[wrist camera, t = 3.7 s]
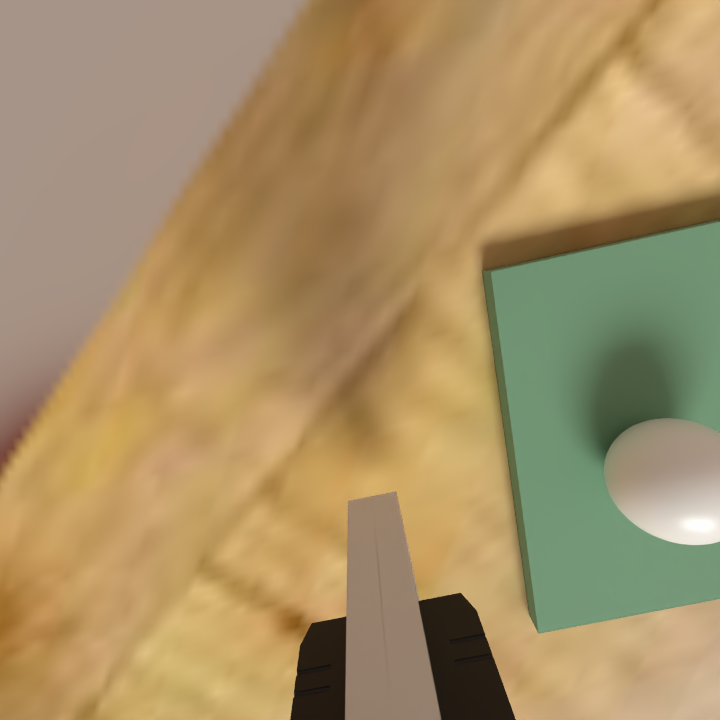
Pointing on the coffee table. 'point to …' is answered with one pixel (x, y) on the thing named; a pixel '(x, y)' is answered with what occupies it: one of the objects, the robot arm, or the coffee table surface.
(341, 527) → the coffee table surface
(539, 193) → the coffee table surface
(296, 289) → the coffee table surface
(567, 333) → the green mat
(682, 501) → the ball
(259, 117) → the coffee table surface
